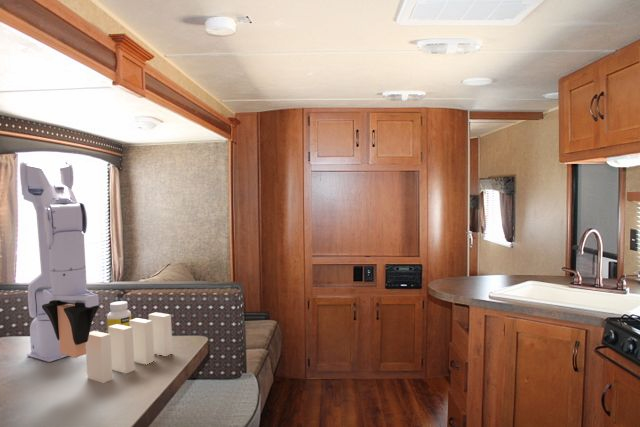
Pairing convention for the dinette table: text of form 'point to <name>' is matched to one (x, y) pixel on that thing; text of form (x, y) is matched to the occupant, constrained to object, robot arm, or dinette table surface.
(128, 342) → the domino
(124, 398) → the dinette table surface
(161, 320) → the domino
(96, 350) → the domino
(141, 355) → the domino
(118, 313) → the supplement bottle
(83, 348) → the terracotta domino
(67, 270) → the robot arm
